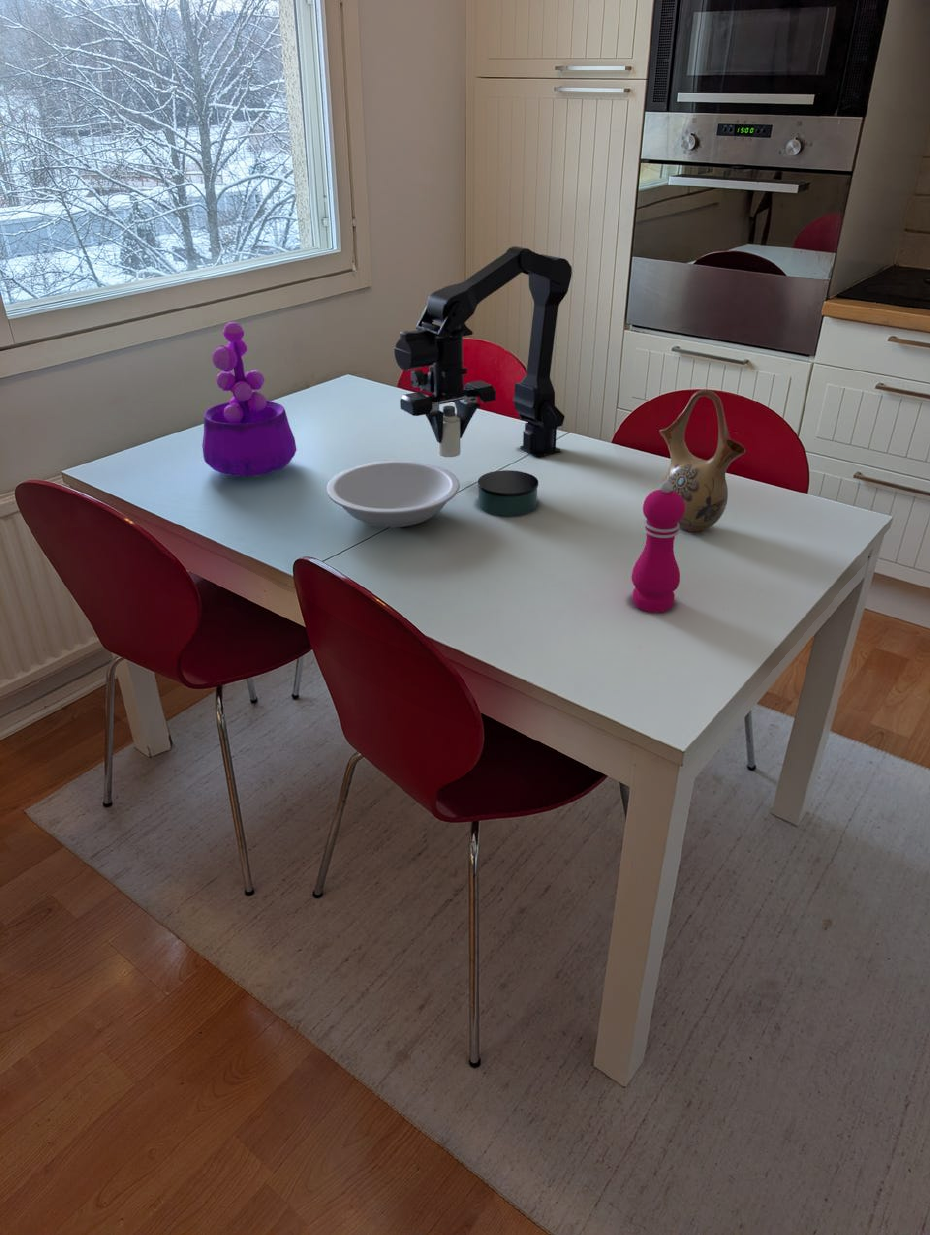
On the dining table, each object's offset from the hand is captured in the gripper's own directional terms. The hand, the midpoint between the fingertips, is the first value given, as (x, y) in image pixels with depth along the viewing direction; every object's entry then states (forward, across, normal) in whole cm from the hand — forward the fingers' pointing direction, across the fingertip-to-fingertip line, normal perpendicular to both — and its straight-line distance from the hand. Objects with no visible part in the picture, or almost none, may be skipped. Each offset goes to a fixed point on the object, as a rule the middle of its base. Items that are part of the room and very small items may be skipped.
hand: (449, 440), depth 178 cm
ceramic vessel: (+8, -24, +44) cm, 51 cm away
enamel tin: (+8, -2, +18) cm, 20 cm away
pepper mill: (+8, 0, +61) cm, 62 cm away
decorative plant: (+8, +33, -25) cm, 42 cm away
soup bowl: (+8, +19, +12) cm, 24 cm away
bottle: (+3, 0, 0) cm, 3 cm away
